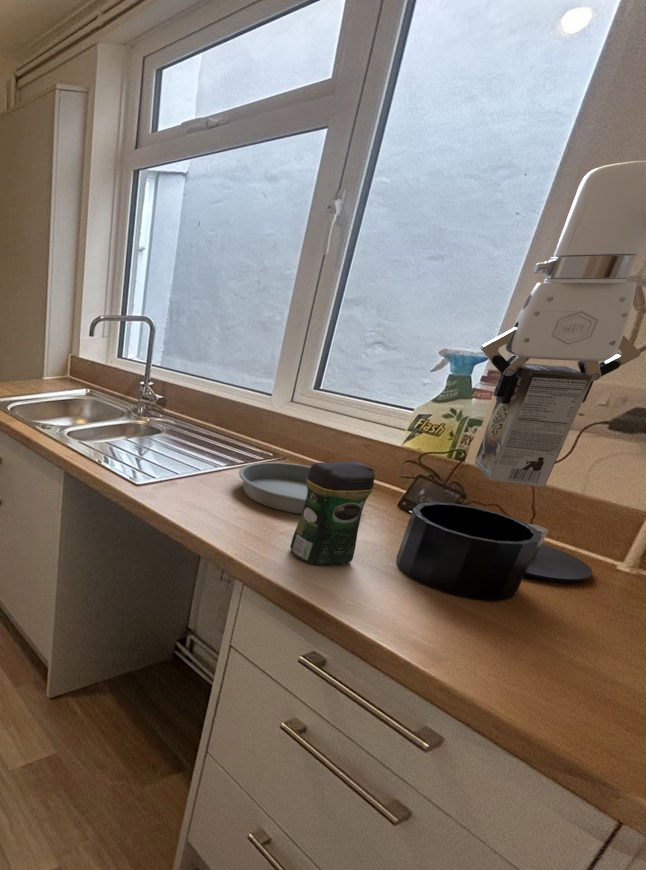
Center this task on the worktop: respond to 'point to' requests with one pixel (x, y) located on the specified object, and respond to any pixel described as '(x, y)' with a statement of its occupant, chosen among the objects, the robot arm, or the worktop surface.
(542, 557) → the bin lid
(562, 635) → the worktop surface
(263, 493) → the cake pan
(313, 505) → the coffee jar
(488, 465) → the coffee box
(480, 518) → the bin
